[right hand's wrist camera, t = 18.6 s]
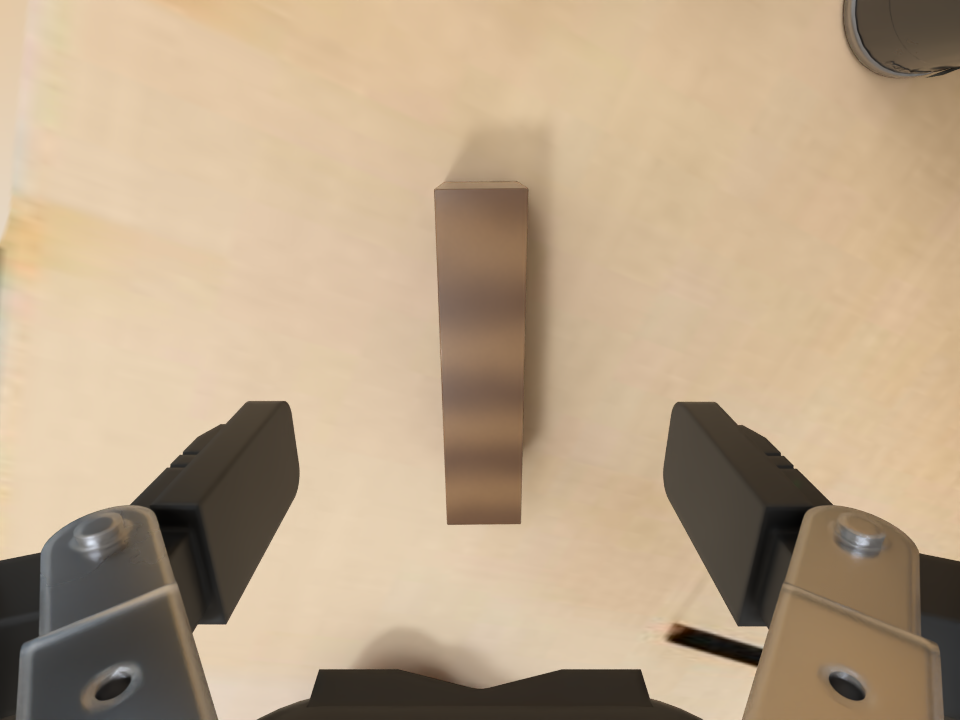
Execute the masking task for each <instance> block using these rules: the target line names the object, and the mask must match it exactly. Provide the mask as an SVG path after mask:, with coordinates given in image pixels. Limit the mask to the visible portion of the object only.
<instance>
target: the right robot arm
mask: <svg viewBox="0 0 960 720" xmlns="http://www.w3.org/2000/svg"><path fill="white" fill-rule="evenodd" d="M844 26H845V32H846V36H847V40H848V42H849V45H850V47H851V49H852V51H853V53H854V54H855V56H856V57H857V58H858V60H859V61H860V62H861V63H862V64H863V65H864V66H866V67H867V68H868V69H870V70H871V71H873V72H875V73H877V74H880V75H882V76H886V77H891V78H908V77H915V76H920V75H925V74H929V73H933V72H937V71H942V70H945V71H942V72H940V73H937V74H934V75H932V76H929V77H933V76H939V75H944V74H946V73H949V72H952V71H954V70H957V69H960V0H845V2H844ZM949 68H950V69H949ZM946 69H948V70H946ZM926 78H927V77H926ZM170 465H171V466H170V468H166V469H165V470H164V471H163V472H162V473H161V474H160V475H159V476H158V477H157V478H156V479H155V480H154V481H153V482H152V483H151V484H150V485H149V486H148V487H147V488H146V489H145V490H144V491H143V492H142V493H141V494H140V495H139V496H138V497H137V498H136V499H135V500H134V501H133V502H132V503H131V504H130V505H125V506H116V507H111V508H107V509H103V510H99V511H96V512H94V513H91V514H88V515H86V516H83V517H81V518H79V519H77V520H75V521H73V522H71V523H69V524H68V525H66V526H65V527H63V528H62V529H60V530H59V531H58V532H56V533H55V534H54V535H53V536H52V537H51V538H50V539H49V540H48V541H47V542H46V544H45V545H44V547H43V549H42V551H41V553H36V554H31V555H26V556H21V557H16V558H11V559H6V560H1V561H0V720H218V718H217V715H216V711H215V708H214V704H213V701H212V698H211V694H210V691H209V688H208V684H207V681H206V678H205V674H204V671H203V668H202V664H201V661H200V658H199V654H198V651H197V648H196V644H195V641H194V638H193V634H192V633H193V631H194V630H195V628H196V626H197V625H198V624H227V622H228V620H229V618H230V616H231V614H232V613H233V611H234V609H235V607H236V605H237V603H238V601H239V600H240V598H241V596H242V594H243V592H244V590H245V588H246V587H247V585H248V583H249V581H250V579H251V577H252V576H253V574H254V572H255V570H256V568H257V566H258V564H259V563H260V561H261V559H262V557H263V555H264V553H265V551H266V550H267V548H268V546H269V544H270V542H271V540H272V538H273V537H274V535H275V533H276V531H277V529H278V527H279V526H280V524H281V522H282V520H283V518H284V516H285V514H286V513H287V511H288V509H289V507H290V505H291V503H292V501H293V500H294V498H295V496H296V493H297V489H298V485H299V461H298V455H297V448H296V441H295V434H294V427H293V420H292V413H291V409H290V406H289V404H288V403H287V402H286V401H248V402H246V403H245V404H244V405H243V406H242V407H241V408H240V410H239V411H238V412H237V413H236V414H235V415H234V416H233V417H232V418H231V419H230V420H229V421H228V422H227V423H226V424H220V425H219V426H217V427H215V428H213V429H211V430H210V431H208V432H206V433H204V434H202V435H201V436H199V437H197V438H196V439H195V440H194V441H193V442H192V443H191V444H190V445H189V446H188V447H187V448H186V449H185V450H184V451H183V455H179V456H178V457H177V458H176V459H175V460H174V461H173V462H172V463H171V464H170ZM663 479H664V487H665V491H666V494H667V497H668V499H669V501H670V503H671V505H672V506H673V508H674V510H675V512H676V514H677V516H678V517H679V519H680V521H681V523H682V525H683V527H684V528H685V530H686V532H687V534H688V536H689V537H690V539H691V541H692V543H693V545H694V547H695V548H696V550H697V552H698V554H699V556H700V558H701V559H702V561H703V563H704V565H705V567H706V569H707V570H708V572H709V574H710V576H711V578H712V580H713V581H714V583H715V585H716V587H717V589H718V591H719V592H720V594H721V596H722V598H723V600H724V601H725V603H726V605H727V607H728V609H729V611H730V612H731V614H732V616H733V618H734V620H735V622H736V623H737V625H738V626H767V627H768V629H769V631H768V634H767V638H766V641H765V644H764V648H763V651H762V654H761V658H760V661H759V664H758V668H757V671H756V674H755V678H754V681H753V684H752V688H751V691H750V694H749V698H748V701H747V704H746V708H745V711H744V715H743V718H742V720H960V561H955V560H950V559H945V558H940V557H935V556H930V555H925V554H920V553H919V551H918V549H917V547H916V545H915V544H914V542H913V541H912V540H911V539H910V538H909V537H908V536H907V535H906V534H905V533H904V532H902V531H901V530H900V529H898V528H897V527H895V526H894V525H892V524H891V523H889V522H887V521H885V520H883V519H881V518H879V517H877V516H874V515H872V514H869V513H866V512H864V511H861V510H857V509H853V508H849V507H844V506H835V505H833V504H832V503H831V502H830V501H829V500H828V499H827V498H826V497H825V496H824V495H823V494H822V493H821V492H820V491H819V490H818V489H817V488H816V487H815V486H814V485H813V484H812V483H811V482H810V481H809V480H808V479H807V478H806V477H805V476H804V475H803V474H801V473H800V472H799V471H798V470H797V469H794V468H793V465H792V464H791V463H790V462H789V461H788V460H787V459H786V458H785V457H784V456H781V453H780V452H779V451H778V450H777V449H776V448H775V447H774V446H773V445H772V444H771V443H770V442H769V441H768V440H767V439H766V438H765V437H763V436H761V435H759V434H758V433H756V432H754V431H752V430H750V429H749V428H747V427H745V426H743V425H737V424H736V423H735V422H734V421H733V420H732V418H731V417H730V416H729V415H728V414H727V413H726V412H725V411H724V410H723V409H722V408H721V407H720V406H719V405H718V404H717V403H715V402H677V403H676V404H675V405H674V407H673V410H672V414H671V420H670V427H669V434H668V440H667V447H666V454H665V461H664V468H663ZM257 720H703V719H701V718H699V717H697V716H695V715H693V714H691V713H688V712H686V711H684V710H682V709H680V708H677V707H675V706H672V705H669V704H666V703H664V702H661V701H657V700H654V699H650V698H649V694H648V691H647V688H646V685H645V682H644V678H643V675H642V672H641V669H562V670H558V671H554V672H550V673H546V674H542V675H538V676H534V677H530V678H526V679H522V680H518V681H514V682H510V683H506V684H502V685H499V686H495V687H491V688H485V689H475V688H469V687H465V686H461V685H458V684H454V683H450V682H446V681H442V680H438V679H434V678H430V677H426V676H422V675H418V674H414V673H410V672H406V671H402V670H398V669H319V672H318V675H317V678H316V682H315V685H314V688H313V691H312V694H311V698H310V699H306V700H303V701H299V702H296V703H294V704H291V705H288V706H285V707H283V708H280V709H278V710H276V711H274V712H272V713H269V714H267V715H265V716H263V717H261V718H259V719H257Z"/></svg>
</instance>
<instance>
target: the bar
mask: <svg viewBox="0 0 960 720" xmlns="http://www.w3.org/2000/svg"><path fill="white" fill-rule="evenodd" d="M434 199H435V225H436V251H437V277H438V302H439V328H440V354H441V380H442V405H443V431H444V457H445V483H446V509H447V524H448V525H468V524H521V494H522V449H523V404H524V359H525V314H526V268H527V223H528V188H527V187H525V186H523V185H522V184H520V183H519V182H517V181H508V182H444V183H442V184H441V185H440V186H438V187H437V188H436V189H434Z"/></svg>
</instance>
